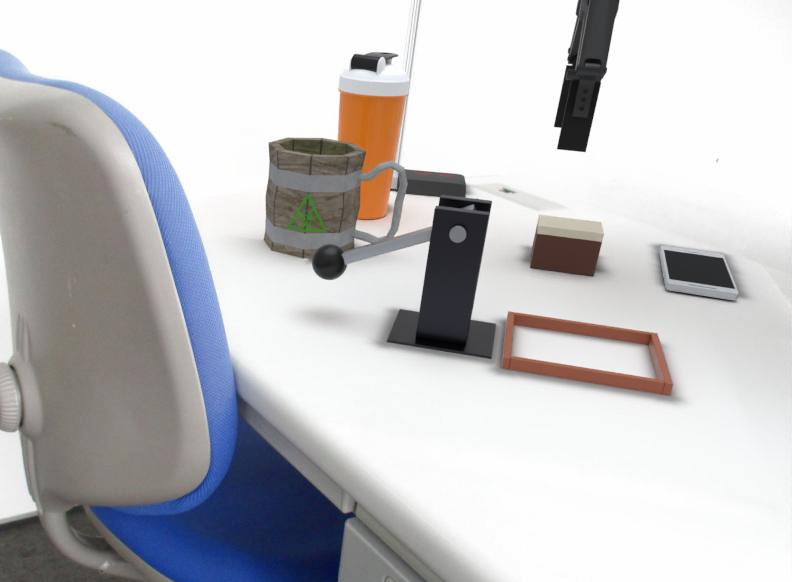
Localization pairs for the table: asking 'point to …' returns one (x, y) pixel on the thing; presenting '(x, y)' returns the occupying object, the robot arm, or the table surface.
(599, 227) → the cake slice
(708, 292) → the smartphone
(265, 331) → the table surface
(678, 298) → the table surface
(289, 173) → the mug
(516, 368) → the reddish-brown rectangular frame
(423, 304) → the lever stand
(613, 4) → the robot arm
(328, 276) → the lever
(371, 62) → the shaker bottle
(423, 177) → the usb drive
